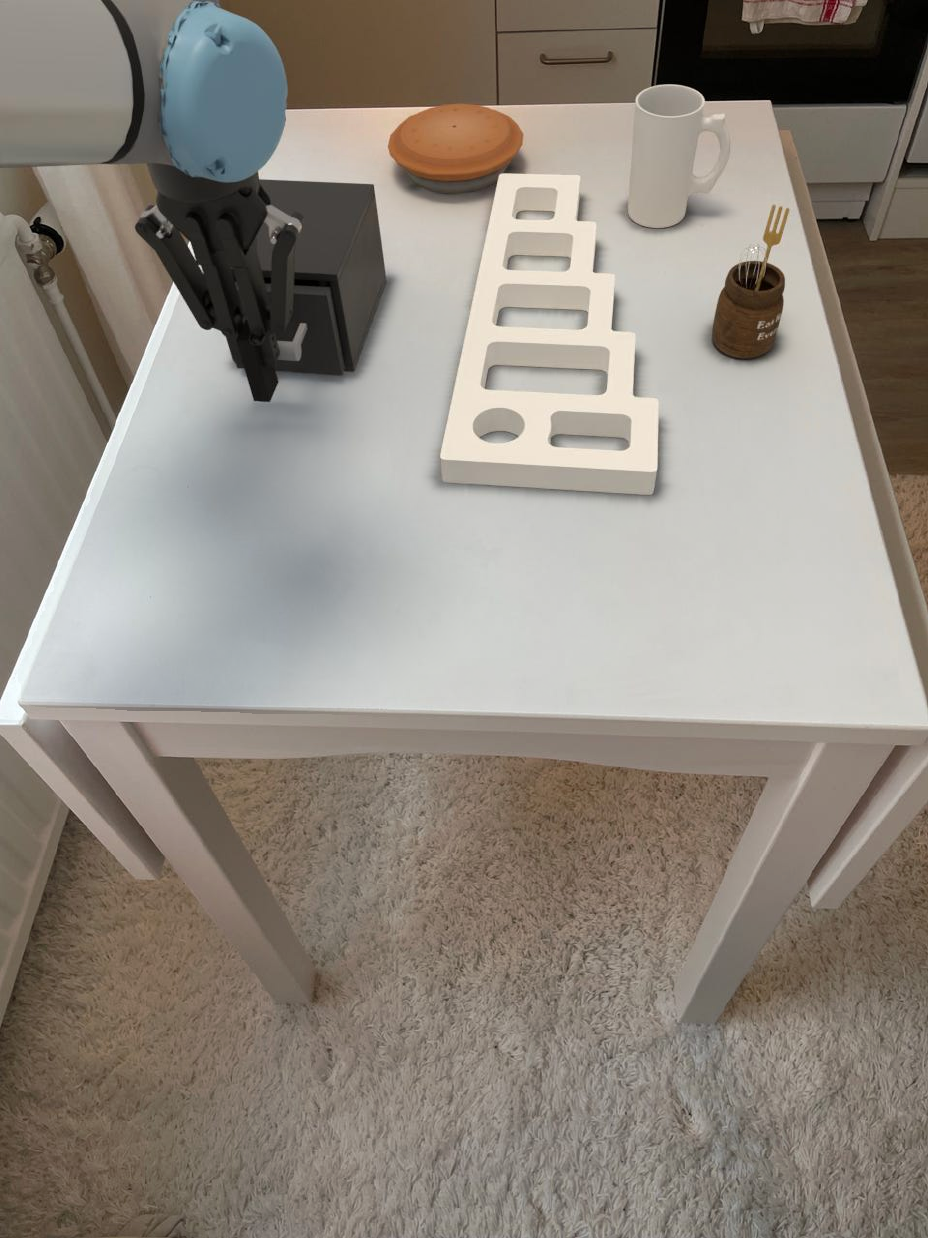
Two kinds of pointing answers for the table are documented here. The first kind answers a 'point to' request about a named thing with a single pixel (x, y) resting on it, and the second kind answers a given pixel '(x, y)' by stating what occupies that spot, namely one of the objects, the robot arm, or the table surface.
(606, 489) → the holder
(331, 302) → the drawer
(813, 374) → the table surface
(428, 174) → the pie
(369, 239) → the cabinet
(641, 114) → the mug
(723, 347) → the utensil holder
